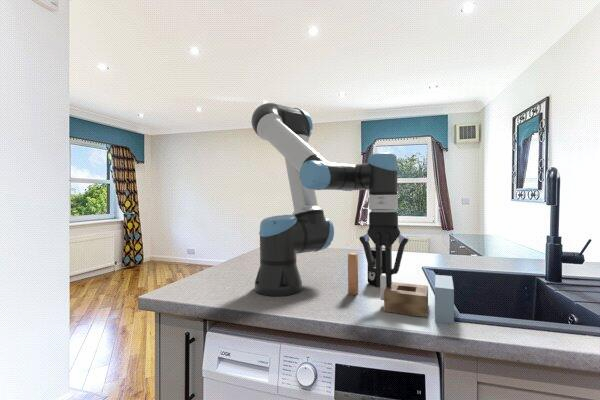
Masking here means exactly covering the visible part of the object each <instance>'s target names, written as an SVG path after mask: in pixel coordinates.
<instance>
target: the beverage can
mask: <svg viewBox="0 0 600 400" xmlns="http://www.w3.org/2000/svg"><path fill="white" fill-rule="evenodd" d="M370 248H371V252H372V256H373V260H374V264H375V267H376V249H375V247H370ZM382 270H383V271H382V273H384V274H386V250H385V247H382ZM367 283H368V285H369V286H372V287H378V288H379V286H377V285H376V274H375V273H374V272H370V270H369V267H368V266H367Z"/></svg>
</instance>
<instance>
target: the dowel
mask: <svg viewBox="0 0 600 400" xmlns="http://www.w3.org/2000/svg"><path fill="white" fill-rule="evenodd" d="M347 294H349V295H351V296H357V295H359V254H358V253H355V252H349V253H348V254H347Z"/></svg>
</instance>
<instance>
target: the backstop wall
mask: <svg viewBox="0 0 600 400" xmlns="http://www.w3.org/2000/svg"><path fill="white" fill-rule="evenodd" d="M434 278H435V279H434V322H437V323H444V324H450V325H451V324H452V325H455V288H454V280H453V276H452V275H443V274H441V275H440V274H435V277H434Z"/></svg>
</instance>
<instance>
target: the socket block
mask: <svg viewBox="0 0 600 400" xmlns="http://www.w3.org/2000/svg"><path fill="white" fill-rule="evenodd" d="M428 310H429V285H426V284H424V285H423V284H416V283H415V284H414V283H407V282H405V283H404V282H393V281H392V285H391V287H390V288H389V287H386V289H385V291H384V300H383V312H388V313H394V314H403V315H409V316H415V317H423V318H427V317H428V316H427V315H428Z"/></svg>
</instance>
